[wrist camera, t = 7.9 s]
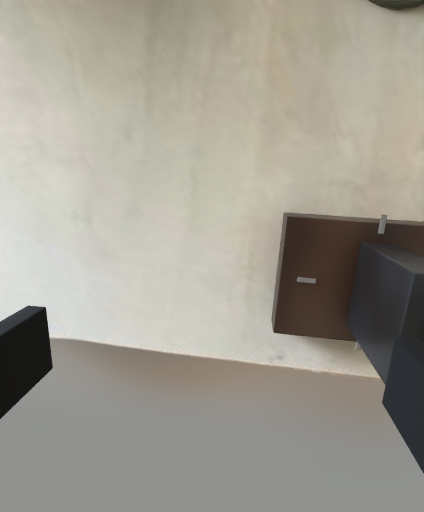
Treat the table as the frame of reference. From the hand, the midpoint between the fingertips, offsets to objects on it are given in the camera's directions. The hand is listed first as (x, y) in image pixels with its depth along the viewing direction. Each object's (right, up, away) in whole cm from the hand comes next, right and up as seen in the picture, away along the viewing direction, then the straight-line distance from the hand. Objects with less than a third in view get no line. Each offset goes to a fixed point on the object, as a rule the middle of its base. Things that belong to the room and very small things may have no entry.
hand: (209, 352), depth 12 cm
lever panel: (+13, +2, +15) cm, 20 cm away
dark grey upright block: (+13, +1, +13) cm, 18 cm away
